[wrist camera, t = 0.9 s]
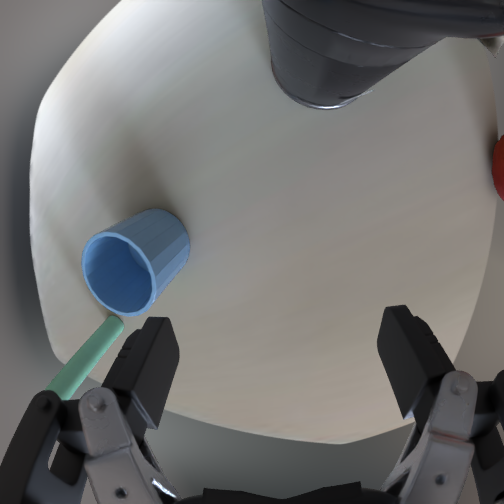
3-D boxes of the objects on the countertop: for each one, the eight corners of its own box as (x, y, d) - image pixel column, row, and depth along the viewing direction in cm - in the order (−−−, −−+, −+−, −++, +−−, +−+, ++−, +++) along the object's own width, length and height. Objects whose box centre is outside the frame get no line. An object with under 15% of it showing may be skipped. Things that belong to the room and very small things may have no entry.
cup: (125, 206, 29) (76, 228, 21) (190, 210, 28) (152, 236, 20) (130, 270, 32) (89, 307, 23) (190, 279, 31) (160, 323, 23)
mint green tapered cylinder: (106, 313, 35) (40, 385, 20) (122, 317, 35) (57, 395, 20) (110, 329, 36) (50, 401, 21) (125, 333, 36) (67, 411, 21)
